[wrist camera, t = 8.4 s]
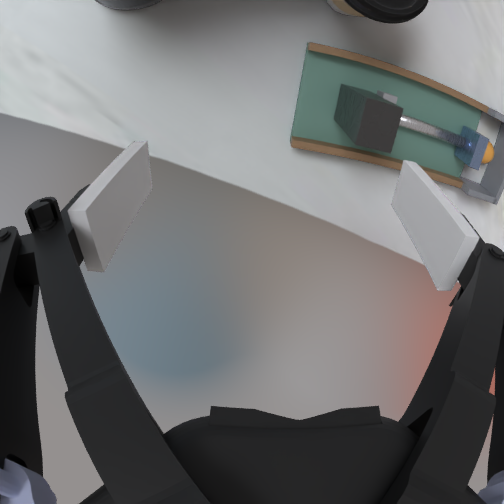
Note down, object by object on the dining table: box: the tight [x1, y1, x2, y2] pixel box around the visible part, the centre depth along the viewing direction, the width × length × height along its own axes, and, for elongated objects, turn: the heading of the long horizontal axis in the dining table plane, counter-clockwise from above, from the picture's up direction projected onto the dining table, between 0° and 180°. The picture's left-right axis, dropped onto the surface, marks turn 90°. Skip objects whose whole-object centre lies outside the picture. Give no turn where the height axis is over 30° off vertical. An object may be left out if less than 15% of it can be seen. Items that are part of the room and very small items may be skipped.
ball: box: [481, 142, 494, 164], centre depth 36 cm, size 4×4×4 cm
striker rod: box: [334, 84, 489, 170], centre depth 31 cm, size 5×22×11 cm, turn 83°
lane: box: [290, 42, 489, 188], centre depth 35 cm, size 14×28×4 cm, turn 83°
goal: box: [460, 108, 504, 205], centre depth 35 cm, size 14×8×5 cm, turn 173°
